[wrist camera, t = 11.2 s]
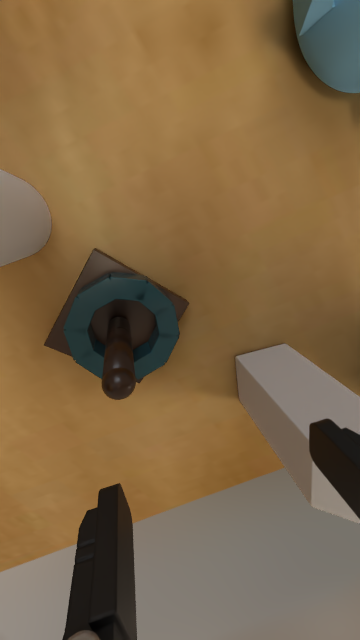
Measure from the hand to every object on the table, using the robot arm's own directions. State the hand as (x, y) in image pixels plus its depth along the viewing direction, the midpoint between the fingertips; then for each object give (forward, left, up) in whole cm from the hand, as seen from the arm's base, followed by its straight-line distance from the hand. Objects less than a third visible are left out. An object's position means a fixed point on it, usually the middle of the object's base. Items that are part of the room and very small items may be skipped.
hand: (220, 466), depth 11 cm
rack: (+3, +3, -21) cm, 21 cm away
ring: (+3, +2, -19) cm, 19 cm away
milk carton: (-17, +1, -21) cm, 27 cm away
